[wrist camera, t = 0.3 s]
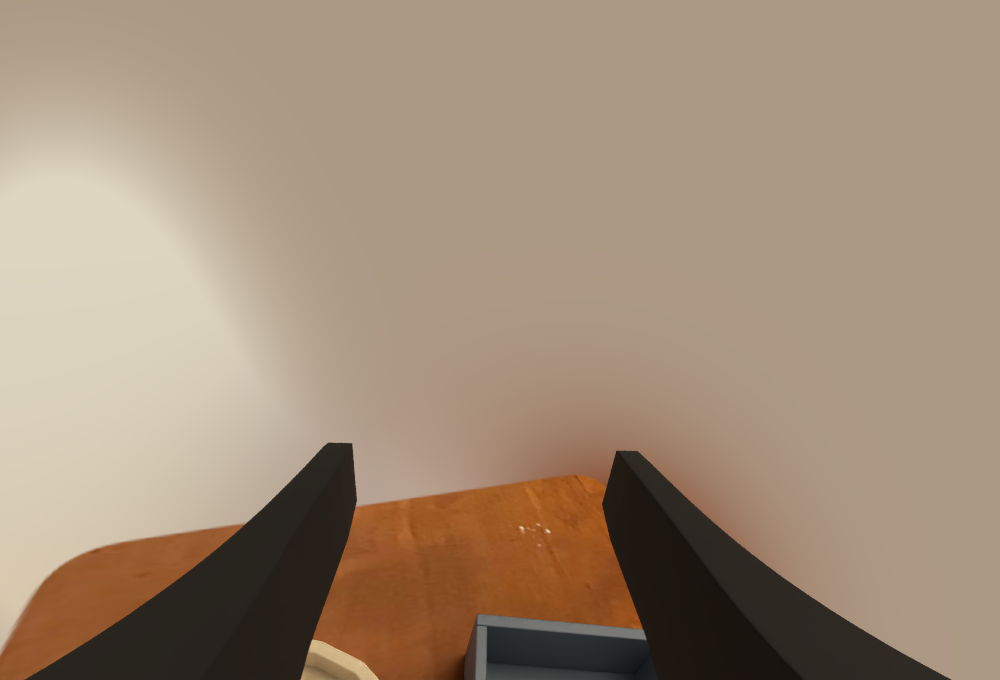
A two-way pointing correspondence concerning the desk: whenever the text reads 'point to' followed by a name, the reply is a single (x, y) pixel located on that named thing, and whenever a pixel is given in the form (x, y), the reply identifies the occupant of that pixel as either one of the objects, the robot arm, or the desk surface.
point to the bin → (555, 651)
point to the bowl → (333, 665)
